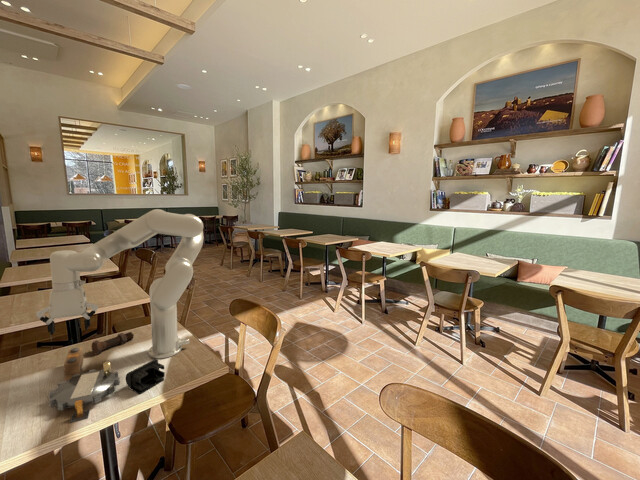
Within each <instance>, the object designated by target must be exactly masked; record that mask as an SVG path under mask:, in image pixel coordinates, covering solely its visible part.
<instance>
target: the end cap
mask: <svg viewBox="0 0 640 480" xmlns="http://www.w3.org/2000/svg"><path fill="white" fill-rule="evenodd" d="M158 359H159V358H153V359H151V360H150V361H148V362H146V363H144V364H143V365H141V366H138V367H136V368H134V369H133V370H131V371H129V372H127V373H126V374H125V383H126V386H127V387H128V388H129V389H130V390H131V391H132V392H134V393H136V394H138V395H142V394H144V393H145V392H147V391H148V390H151V389H153V388H154V387H155V386H157V385H159V384H160V383H162V382H164V381H165V379H164V378H165V372H164V371H163V370H165V365H164V364H161V363H159V360H158ZM160 369H161V370H162V371H161V370H160Z"/></svg>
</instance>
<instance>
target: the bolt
mask: <svg viewBox="0 0 640 480" xmlns="http://www.w3.org/2000/svg"><path fill="white" fill-rule="evenodd" d="M134 335H135V334H134V333H133V332H132V331H129V332H126V333H124V332H120V333H117V336H114V337H111V338H108V339H107V340H103V341H100V340H96V339H95V340H93V341H92V342H91V350H92V353H93V354H94V355H98V356H99V355H100V354H102V351H104V350H106V349H108V348H111V347H113V346H116V345H125V344H126V343H127V341H129V340H133V339H134V338H135V337H134Z"/></svg>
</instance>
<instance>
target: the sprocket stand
mask: <svg viewBox="0 0 640 480" xmlns="http://www.w3.org/2000/svg"><path fill="white" fill-rule="evenodd" d="M89 415H90V409H86V410H84V405H83V403H82V402H81V403H77V409H76V413H72V415H71V419H70V423H74V422H79V421H82V420H86V419H88V418H89V417H90V416H89Z"/></svg>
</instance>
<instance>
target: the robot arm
mask: <svg viewBox="0 0 640 480" xmlns="http://www.w3.org/2000/svg"><path fill="white" fill-rule="evenodd" d="M158 234H159V235H167V236H174V237H175V236H176V237H181V239H180V242H179V244H178V245H177V247H176V249H175V251H174V252H173V253H172V255H171V256H170V257H169V259H168V261H167V262H166V264H165V268H164V269H165V273H164V275H163V276H162V277H159V278H156V279H154V280H153V282H152V283H151V284H150V287H149V293H148V294H149V304H150V325H151V328H150V329H151V344H152V345H151V347H150V348H149V349H148V351H147V352H148V356H149V357H150V358H153V359H166V358H170V357H173V356H175V355H177V354H179V353H180V352H181V350H182V349H183V345H188V344H189V345H190V338H186V337H182V338H180V337H179V335H178V316H177V315H178V312H177V311H178V309H177V306H178V305H177V303H178V301H179V299H181V297H182V295H183V294H184V292H185V291H186V289H187V287H188V285H190V282H191V280H192V279H193V276H194V267H193V264H194V262H195V261H196V259H197V257H198V255H199V254H200V252H201V250H202V248H203V244H204V239H205V238H204V222H203V221H202V219H201V218H200V217H198V216H196V215H195V214H193V213H185V214H182V213H181V214H180V213H173V212H168V211H165V210H164V209H159V208H156V209H152V210H149V211H148V212H146V213H144V214H143V215H141V216H140V217H137V218H136V219H134V220H132V221H131V222H129V223H128V224H126V225H124V226H122V227H121V228H118V229H117V230H115V231H114V232H113V233H111V234H109V235H107V236H105V237H104V238H102V239H100V240H97V242H94V243H93V244H91V245H89V246H88V247H86V248H85V249H84V250H83V251H80V252H77V251H76V250H71V249H70V250H69V249H68V250H67V249H65V250H64V249H63V250H56V251H53V252H51V254H49V255H50V256H49V263H50V274H51V286H52V289H50V292H49V297H48V298H49V299H48V306H46V307H44V308H43V309H40V310H38V311H37V312H36V313H35V315H36V317H37V318H38V319H39V320H40V321H41V322H43V323H45V325H46V326H47V332H48V333H49V335H50V336H53V335H54V334H55V332H56V325H55V321H54V320H55V319H62V318H64V319H65V318H71V317H80V316H81V317H83V318H84V320H83V321H84V330H85V331H88V330H89V327H91V318H92V317H93V316H95V315H96V312H97V310H98V308H99V304H96V303H91V302H89V301H87V294H86V291H85V288H84V286H85V285H86V280H81V277H80V272H84V273H85V272H86V273H92V272H97V271H98V270H99V271H100V269H102V267H104V263H105V262H106V261H107V260H108V259H110V258H112V257H114V256H115V255H117V254H119V253H120V252H122V251H125V250H128V249H133V248H136V247H138V246H140V245H141V244H143V243H144V242H146V241H147V240H149V239H151V238H152V237H155V236H156V235H158ZM88 308H91V309H92V310H91V311H90V312H89V311H87V310H88ZM47 312H48V316H49V317H47V316H46V315H44V314H46V313H47Z"/></svg>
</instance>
